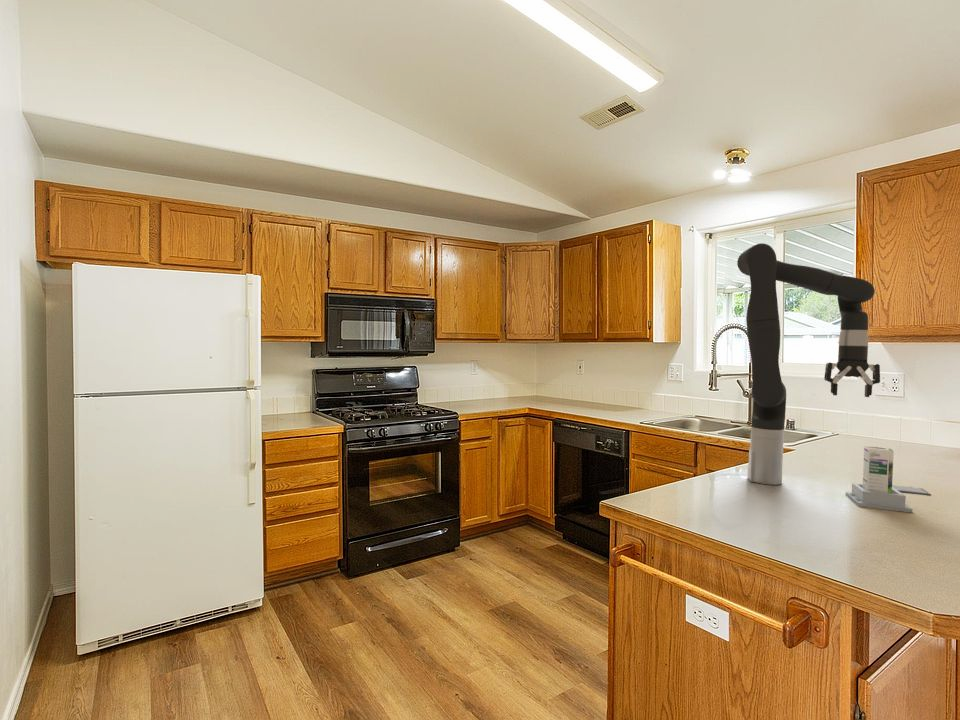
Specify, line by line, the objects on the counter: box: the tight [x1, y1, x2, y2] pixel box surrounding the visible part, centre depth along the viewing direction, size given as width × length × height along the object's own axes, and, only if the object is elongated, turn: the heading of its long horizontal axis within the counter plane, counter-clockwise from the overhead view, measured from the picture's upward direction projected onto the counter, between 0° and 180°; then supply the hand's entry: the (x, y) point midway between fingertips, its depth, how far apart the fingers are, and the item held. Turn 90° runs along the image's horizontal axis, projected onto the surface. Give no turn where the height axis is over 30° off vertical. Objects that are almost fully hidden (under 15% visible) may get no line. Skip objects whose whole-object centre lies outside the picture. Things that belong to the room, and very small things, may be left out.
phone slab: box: [892, 484, 932, 497], centre depth 163 cm, size 7×13×1 cm, turn 67°
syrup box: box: [862, 445, 894, 493], centre depth 147 cm, size 6×6×14 cm
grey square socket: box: [845, 482, 913, 513], centre depth 147 cm, size 12×12×4 cm
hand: (850, 396), depth 167 cm, fingers open, 8 cm apart
